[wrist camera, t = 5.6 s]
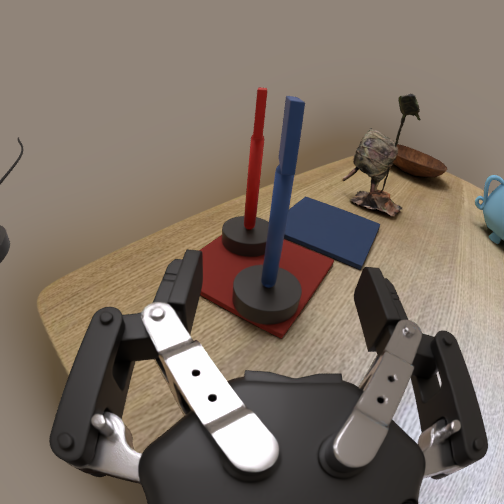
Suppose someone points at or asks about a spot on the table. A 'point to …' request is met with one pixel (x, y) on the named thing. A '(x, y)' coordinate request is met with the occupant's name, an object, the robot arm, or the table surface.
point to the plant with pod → (380, 161)
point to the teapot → (493, 209)
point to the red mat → (229, 264)
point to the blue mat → (331, 231)
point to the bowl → (418, 163)
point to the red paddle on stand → (250, 197)
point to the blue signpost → (274, 239)
